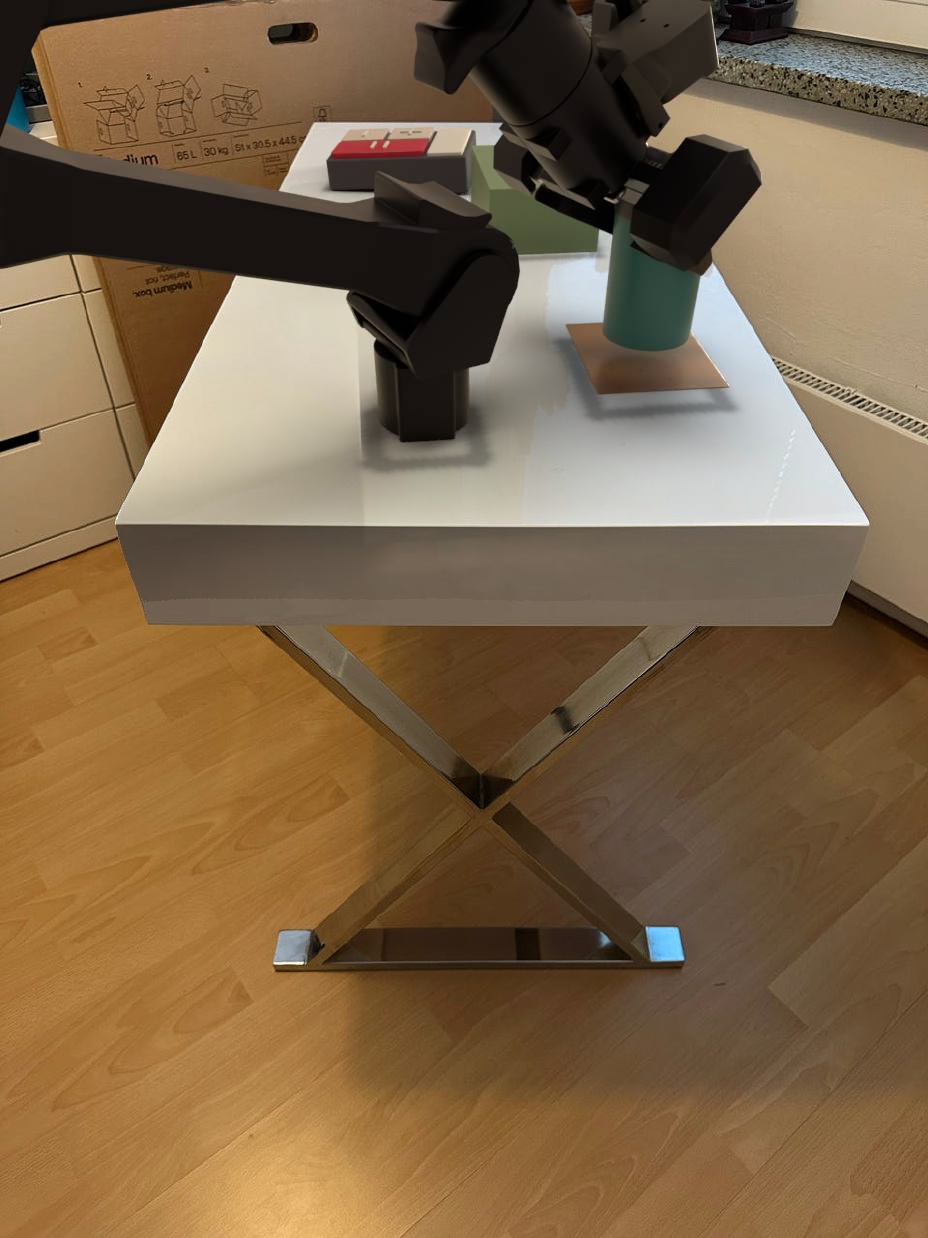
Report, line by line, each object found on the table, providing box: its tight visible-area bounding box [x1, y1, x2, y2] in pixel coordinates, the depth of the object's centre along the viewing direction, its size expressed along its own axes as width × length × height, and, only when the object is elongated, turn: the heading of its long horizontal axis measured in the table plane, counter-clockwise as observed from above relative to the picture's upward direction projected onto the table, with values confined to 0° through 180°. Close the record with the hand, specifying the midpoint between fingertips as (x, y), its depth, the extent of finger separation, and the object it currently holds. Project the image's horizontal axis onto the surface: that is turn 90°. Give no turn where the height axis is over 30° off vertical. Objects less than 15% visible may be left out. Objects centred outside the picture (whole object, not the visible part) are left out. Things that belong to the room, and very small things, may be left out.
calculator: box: [325, 126, 477, 194], centre depth 96 cm, size 11×4×15 cm
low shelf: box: [565, 321, 731, 395], centre depth 62 cm, size 11×9×2 cm
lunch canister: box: [602, 189, 702, 351], centre depth 57 cm, size 6×6×9 cm
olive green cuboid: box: [470, 144, 600, 256], centre depth 82 cm, size 14×10×6 cm
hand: (673, 253), depth 57 cm, fingers closed on lunch canister, 6 cm apart
